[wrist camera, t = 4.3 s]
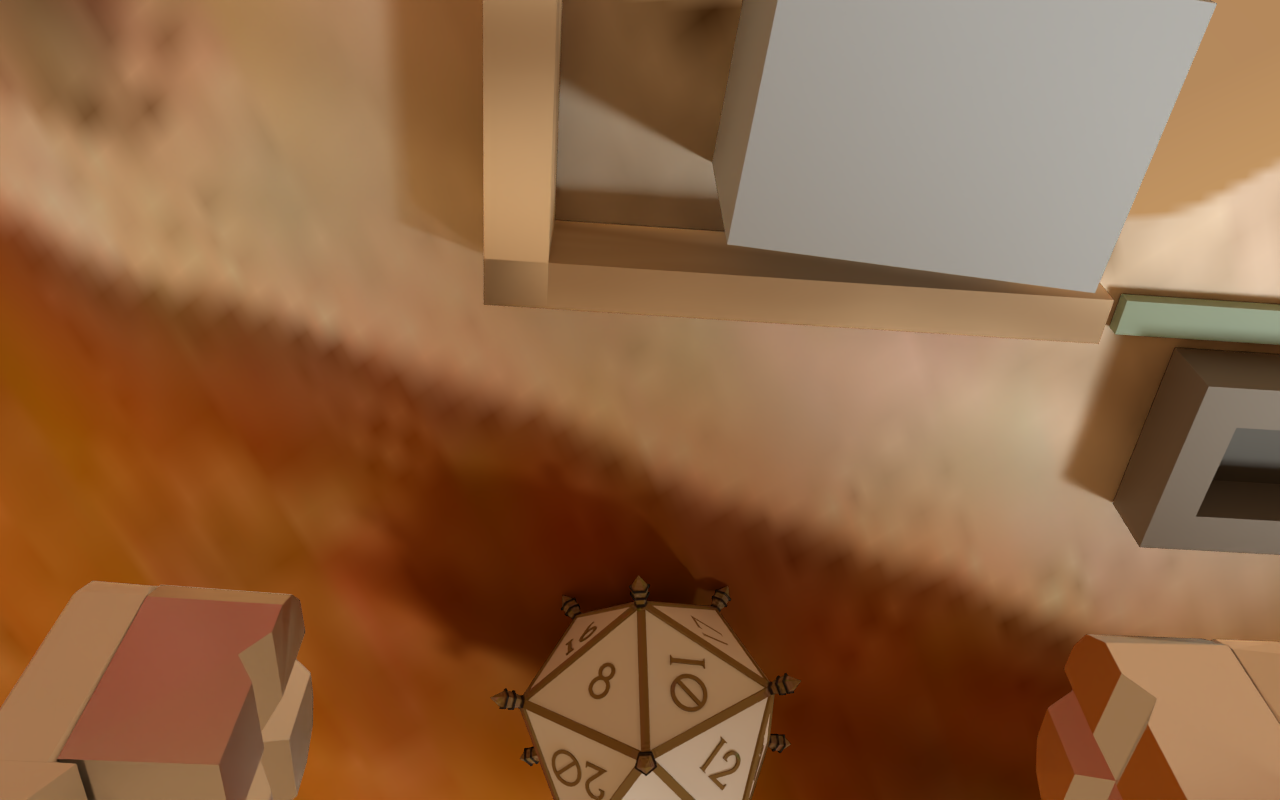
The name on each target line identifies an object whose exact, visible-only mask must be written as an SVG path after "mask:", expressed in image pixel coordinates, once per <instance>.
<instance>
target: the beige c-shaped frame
mask: <svg viewBox="0 0 1280 800" xmlns="http://www.w3.org/2000/svg"><path fill="white" fill-rule="evenodd" d="M562 2H563V0H483V204H484V305H499V306H514V307H530V308H546V309H561V310H577V311H593V312H608V313H624V314H640V315H655V316H671V317H687V318H702V319H718V320H734V321H749V322H765V323H781V324H796V325H812V326H828V327H843V328H859V329H875V330H890V331H906V332H921V333H937V334H953V335H968V336H984V337H1000V338H1015V339H1031V340H1047V341H1062V342H1078V343H1094V344H1099V342H1100V339H1101V336H1102V333H1103V330H1104V327H1105V325H1106V322H1107V319H1108V316H1109V313H1110V311H1111V308H1112V305H1113V302H1114V299H1113V298H1112V297H1111V296H1110V295H1109V293H1108V292H1107V291H1106V290H1105V289H1104V287H1103V286H1102V285H1101V284H1100V283H1099V285H1098V287H1097V290H1096V292H1095V293H1090V292H1082V291H1075V290H1067V289H1059V288H1052V287H1044V286H1037V285H1029V284H1022V283H1014V282H1007V281H999V280H992V279H984V278H977V277H969V276H962V275H954V274H947V273H939V272H931V271H924V270H916V269H909V268H901V267H894V266H886V265H879V264H871V263H864V262H856V261H849V260H841V259H834V258H826V257H819V256H811V255H803V254H796V253H788V252H781V251H773V250H766V249H758V248H751V247H743V246H736V245H728V244H727V240H726V235H725V232H722V231H707V230H692V229H678V228H663V227H648V226H634V225H619V224H604V223H589V222H575V221H560V220H555V199H556V171H557V143H558V115H559V87H560V59H561V31H562Z"/></svg>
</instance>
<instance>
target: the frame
mask: <svg viewBox="0 0 1280 800" xmlns="http://www.w3.org/2000/svg"><path fill="white" fill-rule="evenodd" d="M1110 328H1111V330H1112V331H1113V332H1114V333H1115V334H1119V335H1134V336H1150V337H1165V338H1181V339H1196V340H1212V341H1228V342H1243V343H1259V344H1274V345H1280V304H1267V303H1251V302H1236V301H1221V300H1206V299H1191V298H1176V297H1161V296H1146V295H1131V294H1121V296H1120V299H1119V302H1118V305H1117V307H1116V310H1115V313H1114V316H1113V319H1112V321H1111V324H1110Z"/></svg>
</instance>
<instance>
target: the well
mask: <svg viewBox="0 0 1280 800" xmlns="http://www.w3.org/2000/svg"><path fill="white" fill-rule="evenodd" d="M1113 505H1114V506H1115V508H1116V509H1117V511H1118V513H1119V514H1120V516H1121V518H1122V519H1123V521H1124V523H1125V524H1126V526H1127V527H1128V529H1129V531H1130V532H1131V534H1132V536H1133V537H1134V539H1135V540H1136V542H1137V544H1138V545H1139V547H1146V548H1165V549H1183V550H1201V551H1219V552H1238V553H1256V554H1274V555H1280V354H1266V353H1250V352H1235V351H1219V350H1203V349H1188V348H1175V349H1174V352H1173V354H1172V357H1171V359H1170V362H1169V364H1168V367H1167V369H1166V372H1165V374H1164V377H1163V379H1162V382H1161V384H1160V387H1159V389H1158V392H1157V394H1156V397H1155V399H1154V402H1153V404H1152V407H1151V409H1150V412H1149V414H1148V417H1147V419H1146V422H1145V424H1144V427H1143V429H1142V432H1141V434H1140V437H1139V439H1138V442H1137V444H1136V447H1135V449H1134V452H1133V454H1132V457H1131V459H1130V462H1129V464H1128V467H1127V469H1126V472H1125V474H1124V477H1123V479H1122V482H1121V484H1120V487H1119V489H1118V492H1117V494H1116V497H1115V499H1114V501H1113Z"/></svg>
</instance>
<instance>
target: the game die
mask: <svg viewBox="0 0 1280 800" xmlns="http://www.w3.org/2000/svg"><path fill="white" fill-rule="evenodd" d="M649 587H650V584H646V583H645V582H644V580H643V579H642V578H641V577H640V576H639V575H638V576H637V578H636V579H635V581H634V582H633V584H632V585H630V586H629V588H630V589H631V591H632V592H631V593H630V595H631V596H632V598H633V600H634V602H631V603H626V604H622V605H617V606H612V607H608V608H603V609H599V610H594V611H590V612H585V613H581V612H580V606H579V604H577V603H576V599H575V598H570V597H567V596H564V595H563V598H562V608H561V610H564V611H565V615H566V616H569V617H571V618H572V620H573V621H572V622H571V624H570V625H569V627H568V628H567V630H566V631H565V633H564V634H563V636H562V637H561V639H560V640H559V642H558V643H557V645H556V646H555V648H554V649H553V651H552V652H551V654H550V655H549V657H548V658H547V660H546V661H545V663H544V664H543V666H542V667H541V669H540V670H539V672H538V673H537V675H536V676H535V678H534V680H533V681H532V683H531V684H530V686H529V687H528V689H527V690H526V692H525V693H524V695H521V696H520V695H518V694H516V693H515V691H514V690H513V691H512V692H510V691H507V689H504V691H503V692H501V693H499V694H497V695H495V696H493V697H491V699H492V700H493V701H494V702H496V703H497V704H498V705H499V706H500V709H506V708H508V710H514V708H519V709H520V711H521V713H522V716H523V719H524V721H525V724H526V727H527V729H528V732H529V735H530V737H531V740H532V743H533V745H534V747H530V748H524V752H523V754H522V756H521V757H520V759H521V760H523V761H525V762H527V763H528V764H529V765H530V766H532V765H533V763H536V764H538V762H540V764H541V767H542V770H543V772H544V775H545V778H546V780H547V783H548V786H549V788H550V791H551V794H552V796H553V799H554V800H751V799H752V796H753V793H754V789H755V786H756V783H757V780H758V777H759V774H760V770H761V767H762V764H763V761H764V758H765V755H766V751H767V748H768V747H769V748H771V750H772V751H775V750H777V751H778V752H779V753H781V752H782V750H783V749H785V748H786V747H788V746H789V745H791V744H790V743H789V741H788V740H787V739H786V738H785V735H778V734H771V735H770V731H771V722H772V713H773V704H774V695H775V694H779V695H786V693H787V694H790V693H794V690H795V688H796V687H797V686H798V684H799V683H800V682H801V680H798V679H796V678H793V677H790V676H788V675H787V673H785V674H784V676H782V677H780V676H777V678H776V680H774V681H773V682H770V681H769V679H768V678H767V677H766V675H765V674H764V673H763V671H762V670H761V668H760V667H759V666H758V664H757V663H756V662H755V660H754V659H753V657H752V656H751V655H750V653H749V652H748V650H747V649H746V648H745V646H744V645H743V644H742V642H741V641H740V639H739V638H738V637H737V635H736V634H735V633H734V631H733V630H732V628H731V627H730V626H729V624H728V623H727V621H726V620H725V619H724V617H723V616H722V615H721V613H720V611H721V609H722V608H723V607H727V602H728V601H731V598H730V596H729V588H728V586H726V587H724V588H722V589H719V590H715V595H714V596H712V604H711V606H706V605H693V604H680V603H667V602H655V601H647V598H648V596H649V594H650V592H649V591H648V588H649Z"/></svg>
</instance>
